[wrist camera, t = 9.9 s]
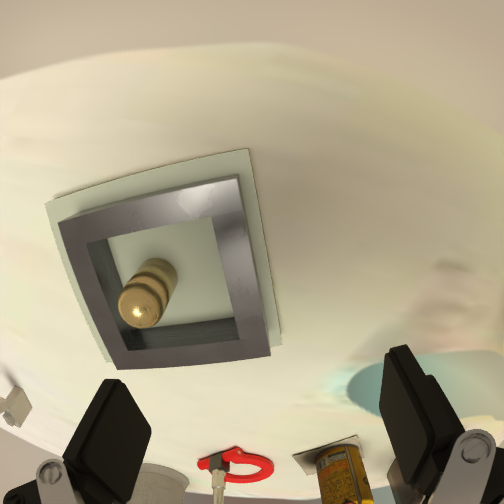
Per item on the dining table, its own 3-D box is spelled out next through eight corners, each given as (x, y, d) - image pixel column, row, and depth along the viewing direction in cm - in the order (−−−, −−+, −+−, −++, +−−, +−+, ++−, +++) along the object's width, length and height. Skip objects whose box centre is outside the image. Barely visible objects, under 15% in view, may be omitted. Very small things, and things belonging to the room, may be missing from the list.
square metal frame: (238, 173, 19) (236, 178, 16) (268, 331, 23) (270, 355, 20) (78, 211, 20) (57, 222, 17) (128, 347, 24) (117, 369, 21)
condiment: (364, 456, 33) (383, 525, 22) (307, 474, 34) (316, 543, 23) (356, 433, 31) (380, 513, 20) (291, 454, 32) (301, 534, 21)
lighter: (32, 408, 30) (10, 446, 23) (24, 405, 30) (1, 441, 23) (15, 373, 28) (-14, 412, 20) (7, 369, 28) (-22, 407, 20)
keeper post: (171, 254, 21) (148, 290, 16) (182, 292, 22) (165, 335, 17) (133, 261, 21) (103, 297, 16) (145, 297, 22) (121, 339, 17)
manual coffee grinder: (459, 424, 33) (503, 507, 16) (436, 460, 36) (467, 534, 19) (371, 451, 33) (403, 557, 16) (356, 483, 37) (377, 570, 20)
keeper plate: (247, 148, 20) (248, 148, 18) (280, 334, 25) (282, 344, 24) (54, 199, 21) (44, 203, 19) (111, 352, 26) (106, 362, 24)
